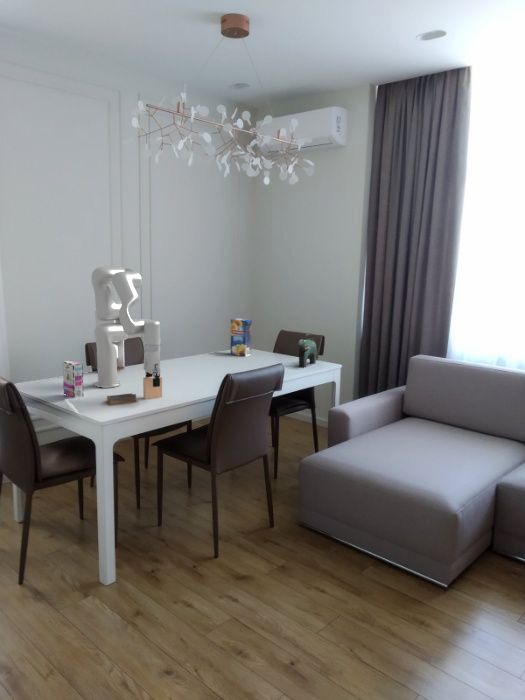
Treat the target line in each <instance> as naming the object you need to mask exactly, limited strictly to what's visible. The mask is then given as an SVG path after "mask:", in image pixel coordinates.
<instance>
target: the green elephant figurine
mask: <svg viewBox="0 0 525 700" xmlns="http://www.w3.org/2000/svg"><path fill="white" fill-rule="evenodd" d="M307 336H308V337H309V336H310V334H309V333H306V334H305V337H304V338H303V339H300V340H299V341H298V343H297V346H298V347H297V348H298V367H299V368H301V369H302V368H303V369H304V368H307V361H308V358H309V364H312V365H314V364H316V361H317V356H318V349H317V344H316V342H315V339H314V338H313V337H312V338H308V339H307Z"/></svg>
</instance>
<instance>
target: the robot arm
mask: <svg viewBox="0 0 525 700" xmlns="http://www.w3.org/2000/svg"><path fill="white" fill-rule="evenodd" d="M90 279H91V280H90V281H91V284H92V288H93V292H94V302H95V303H94V304H95V310H96V315H97V318H98V319H99V320H102V321H109V320H116V323H105V324H100V325H98V326H97V327H96V326H95V327H94V331H93V334H94V339H95V344H96V359H97V369H98V373H97V381H96V382H94V386H95V387H96V386H97V387H96V388H99V387H102V389H111V388H116V387H120V386H121V382H120V381H118V373H117V351H116V348H115V347H114V345H113V344H112V342H115V341H123V340H124V341H125V340H127V339H128V338H129V337H135V336H143V353H144V354H143V371H145V377H154V378H153V387H159V386H160V376H161V356H160V355H161V353H160V352H162V351H161V350H162V349H161V348H162V346H161V345H162V343H161V342H162V340H161V322H160V321H159V320H153V319H151V318H135V319H132V318H131V316H130V313H129V308H132V307H134V306H135V305H137V303H138V302H139V301H140V296H139V294H138V292H137V289H140V288H141V287H142V285H143V278H142V276H141V274H140V273H139V272H138V271H137V270H134V269H132V268H129V267H126V266H107V265H106V266H99V267H96V268H94V270H93V271H92V273H91V278H90ZM109 285H113V287H114V289H115V291H116V293H117V295H118V298H119V300H114V297H113V291H112V289H111V288H110V286H109Z"/></svg>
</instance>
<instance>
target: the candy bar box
mask: <svg viewBox="0 0 525 700" xmlns="http://www.w3.org/2000/svg"><path fill="white" fill-rule="evenodd" d="M83 366H84V364H83V363H82V362H78V361H76V360H75V361H74V360H73V359H72V360H65V361H62V380H63V381H62V382H63V395H64V394H66V395H68V396H67V397H71V398H73V399H74V398H82V397H84V367H83Z"/></svg>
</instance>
